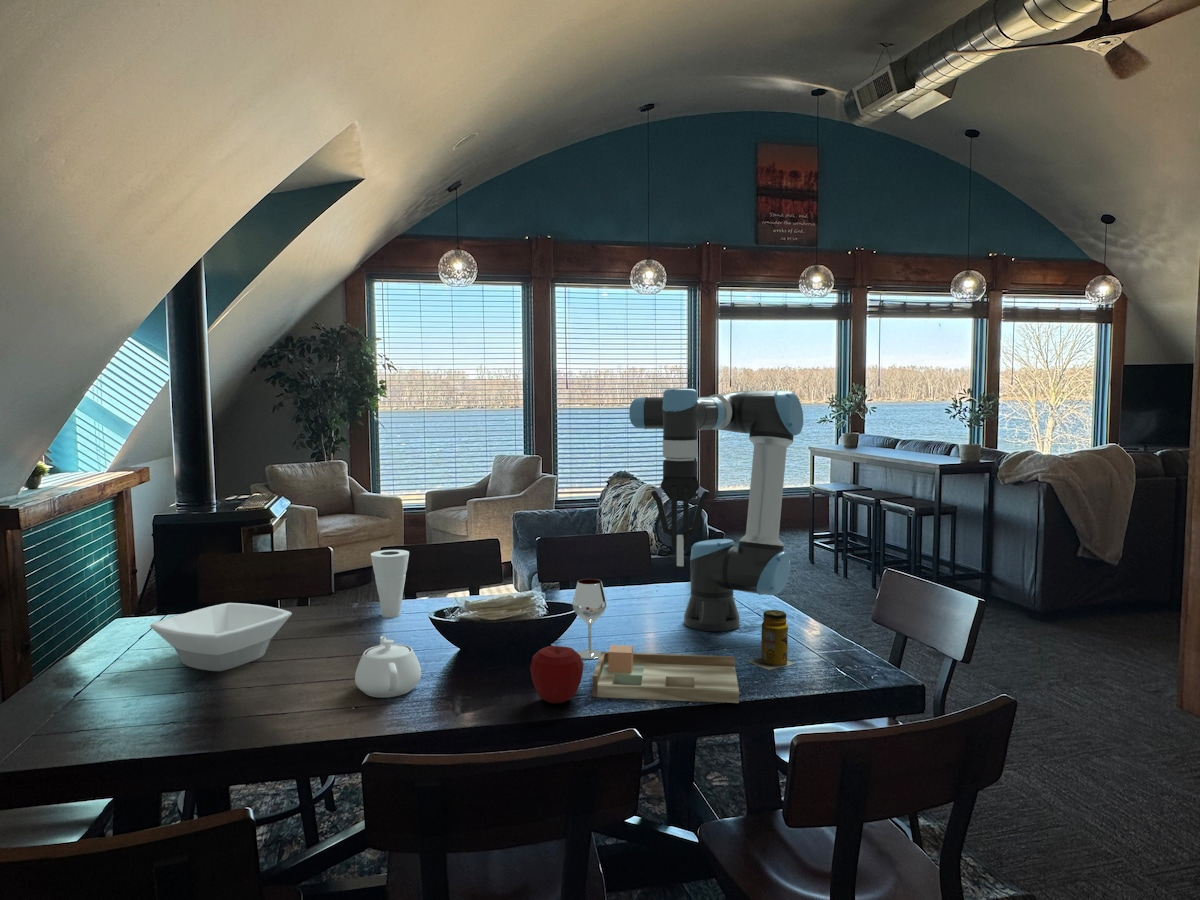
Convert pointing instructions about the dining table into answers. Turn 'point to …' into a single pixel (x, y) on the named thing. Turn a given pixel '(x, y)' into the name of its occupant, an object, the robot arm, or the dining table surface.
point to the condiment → (773, 641)
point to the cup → (390, 579)
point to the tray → (670, 678)
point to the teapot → (388, 670)
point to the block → (620, 659)
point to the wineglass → (589, 608)
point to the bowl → (222, 634)
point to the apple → (556, 673)
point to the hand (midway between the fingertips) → (680, 564)
